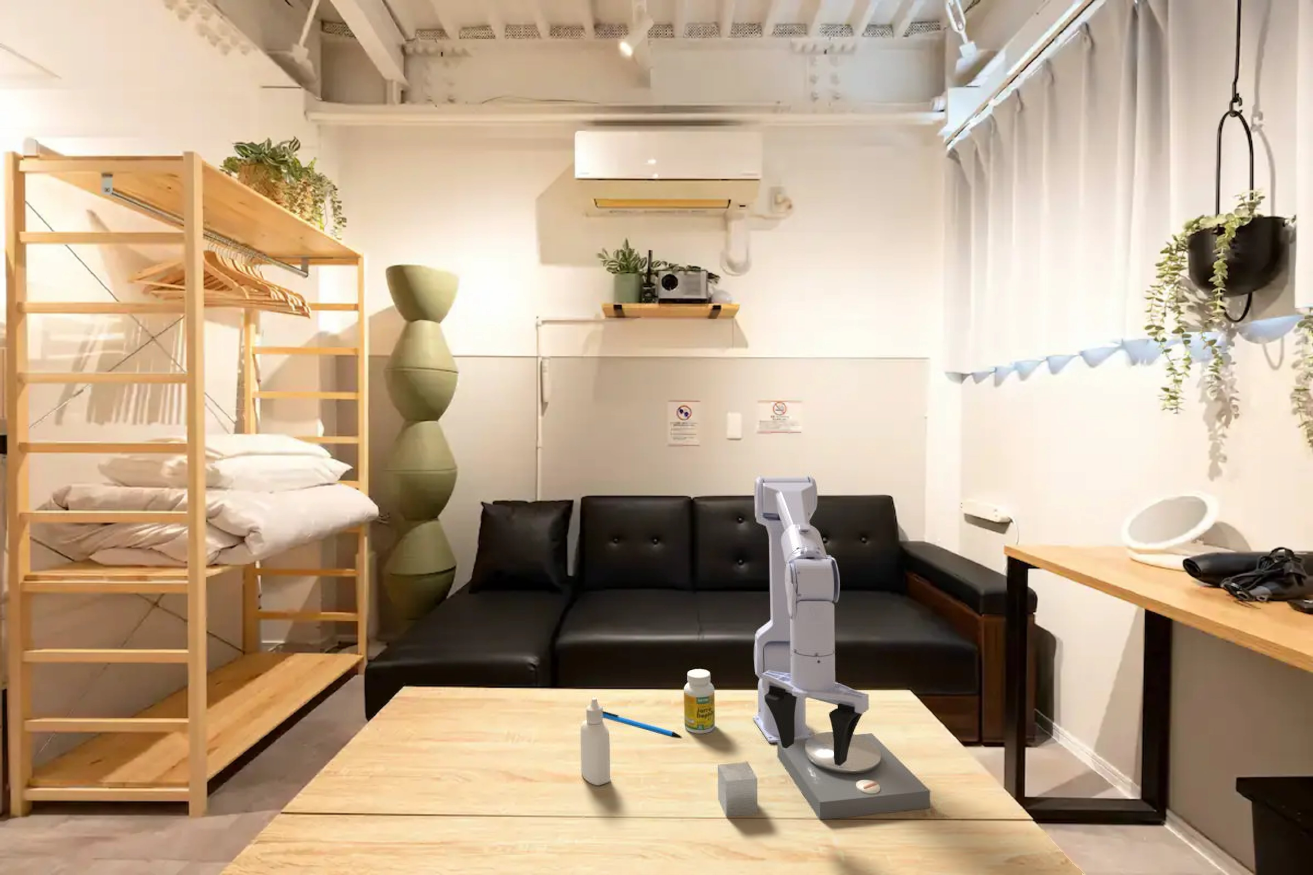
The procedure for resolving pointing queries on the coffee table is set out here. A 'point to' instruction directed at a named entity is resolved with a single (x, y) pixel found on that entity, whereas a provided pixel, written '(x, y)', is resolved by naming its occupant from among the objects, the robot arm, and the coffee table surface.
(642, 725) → the pen
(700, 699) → the supplement bottle
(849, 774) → the scale base
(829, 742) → the pan
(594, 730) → the eye dropper bottle
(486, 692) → the coffee table surface
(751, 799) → the block
